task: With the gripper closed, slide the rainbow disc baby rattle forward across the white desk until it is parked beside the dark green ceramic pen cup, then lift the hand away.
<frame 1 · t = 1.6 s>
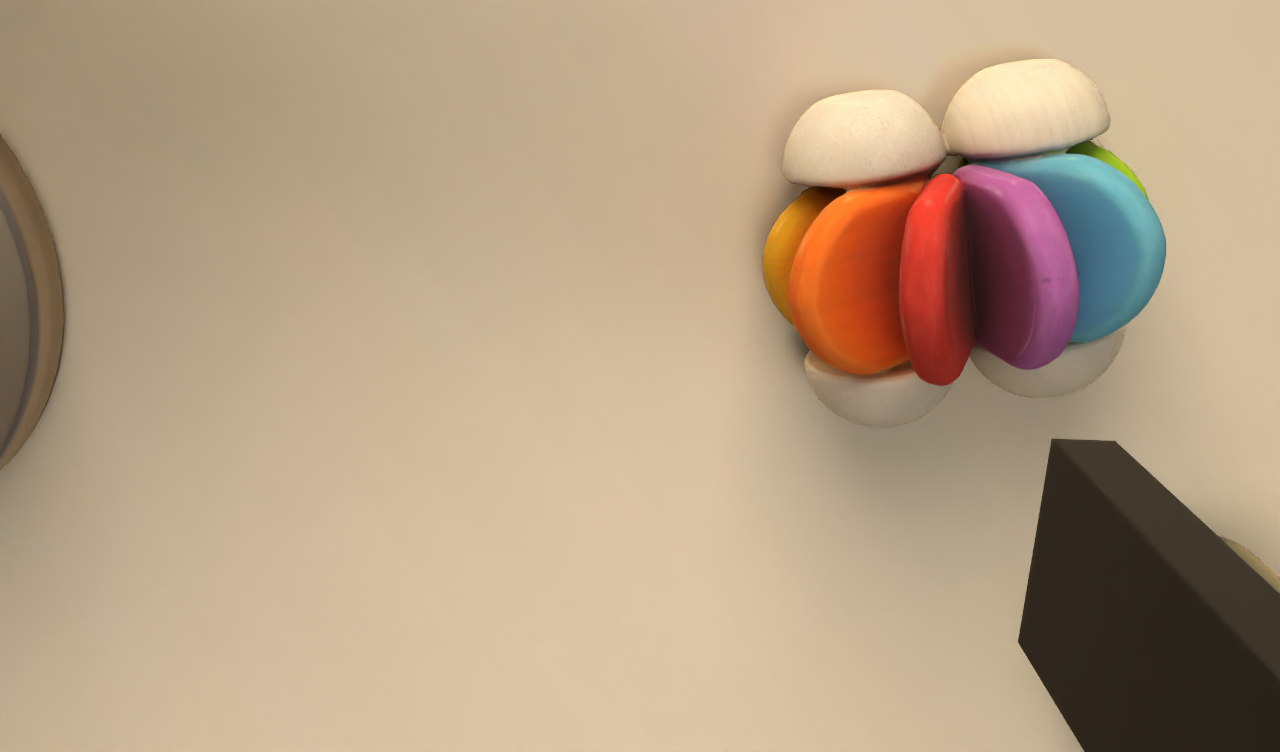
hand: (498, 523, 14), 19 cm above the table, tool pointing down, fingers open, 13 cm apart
rainbow disc baby rattle: (930, 229, 33), on the table
pen cup: (1168, 635, 37), on the table
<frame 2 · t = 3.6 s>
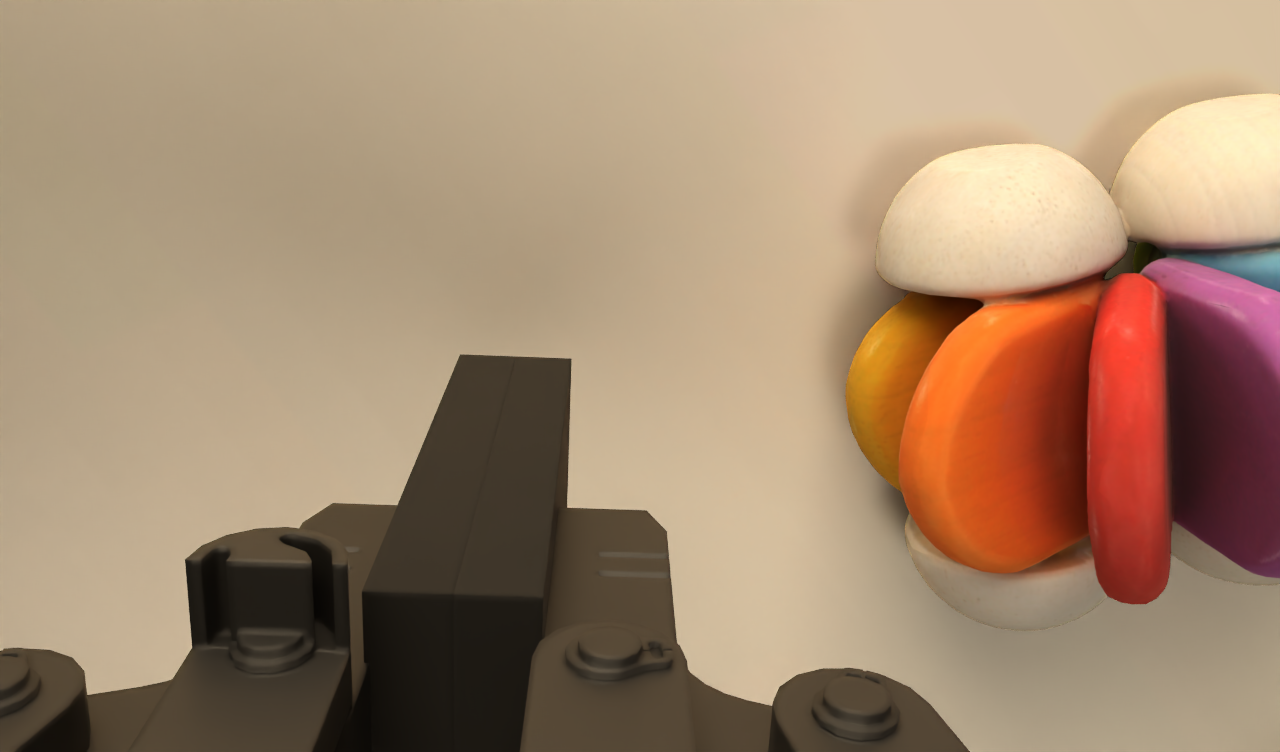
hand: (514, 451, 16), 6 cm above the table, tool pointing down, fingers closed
rainbow disc baby rattle: (1078, 334, 23), on the table
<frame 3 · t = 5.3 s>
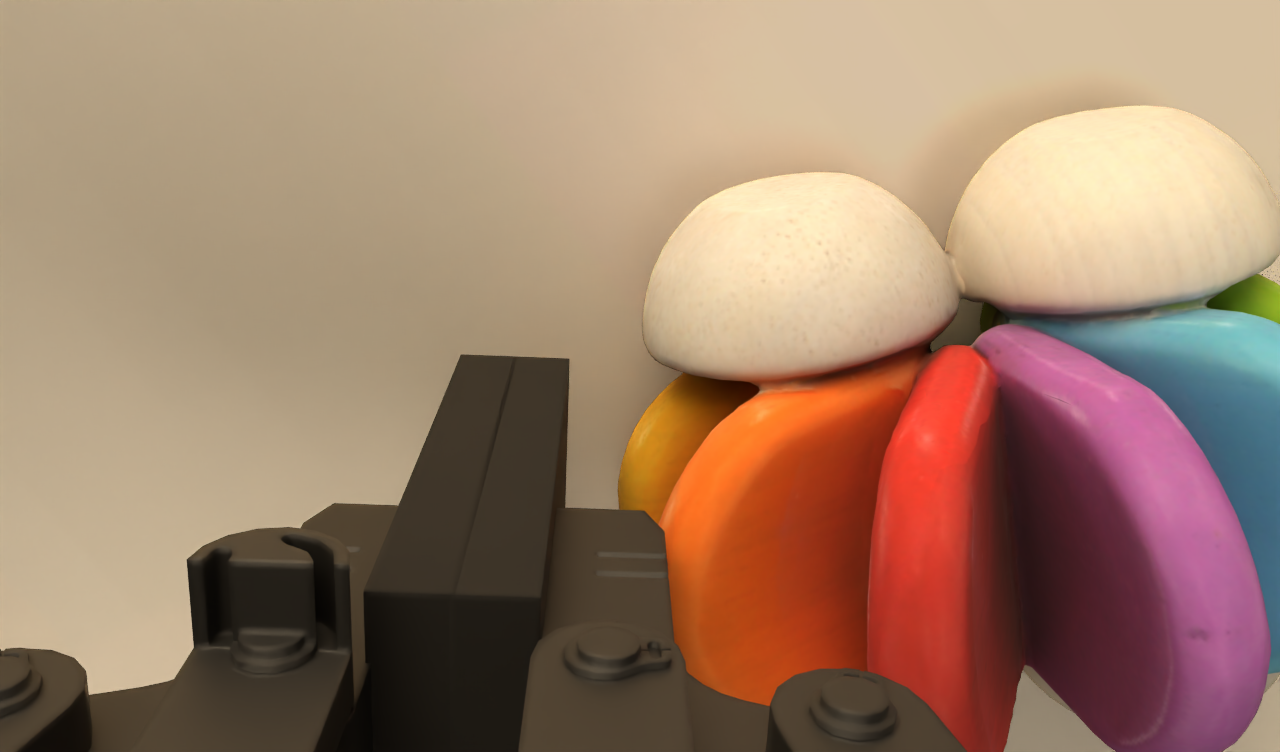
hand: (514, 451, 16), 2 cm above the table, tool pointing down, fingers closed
rainbow disc baby rattle: (930, 405, 18), on the table, touching gripper
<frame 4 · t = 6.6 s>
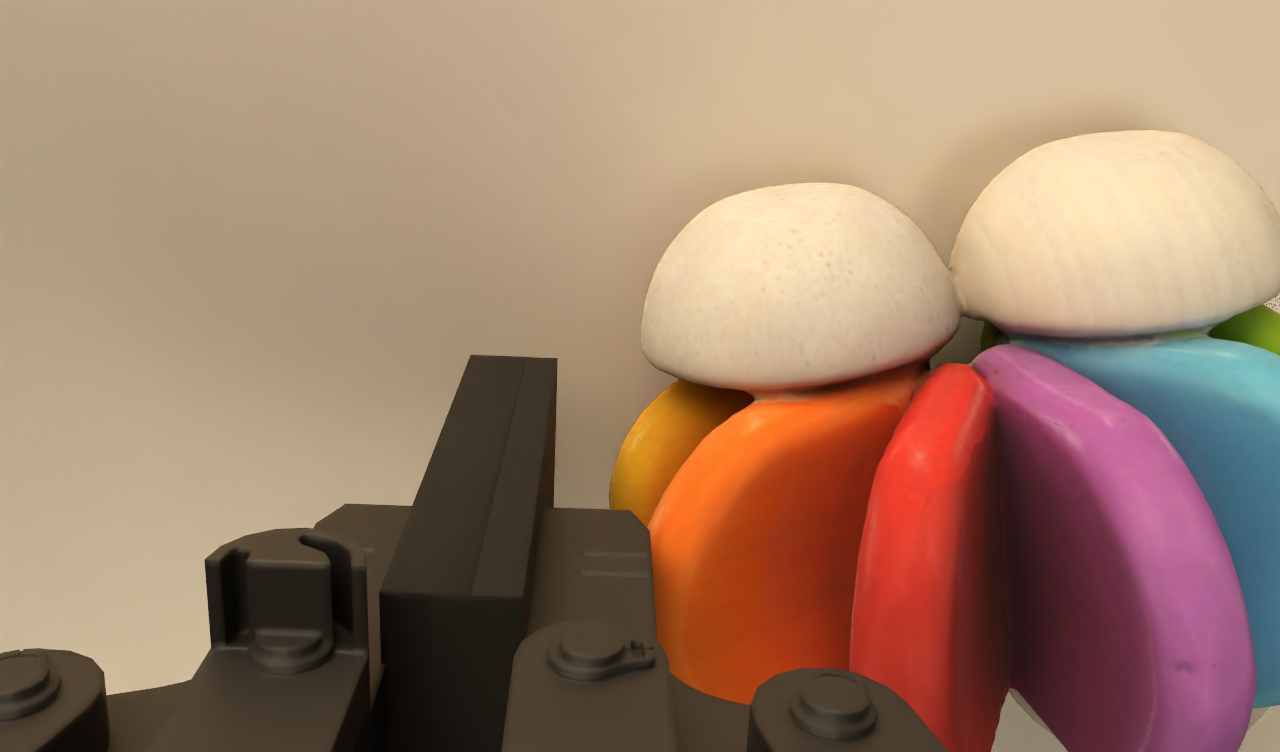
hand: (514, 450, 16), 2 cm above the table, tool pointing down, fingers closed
rainbow disc baby rattle: (928, 421, 18), on the table, touching gripper
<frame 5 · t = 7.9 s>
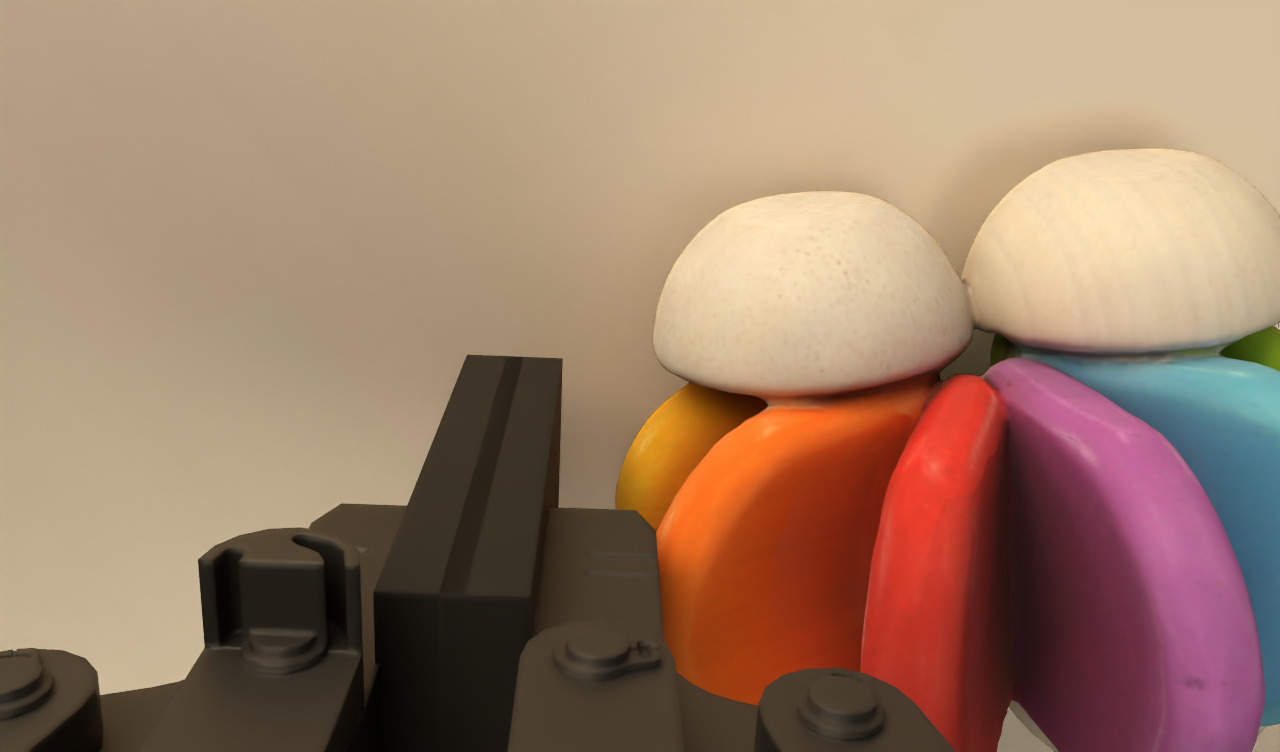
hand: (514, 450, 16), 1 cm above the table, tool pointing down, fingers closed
rainbow disc baby rattle: (933, 433, 18), on the table, touching gripper
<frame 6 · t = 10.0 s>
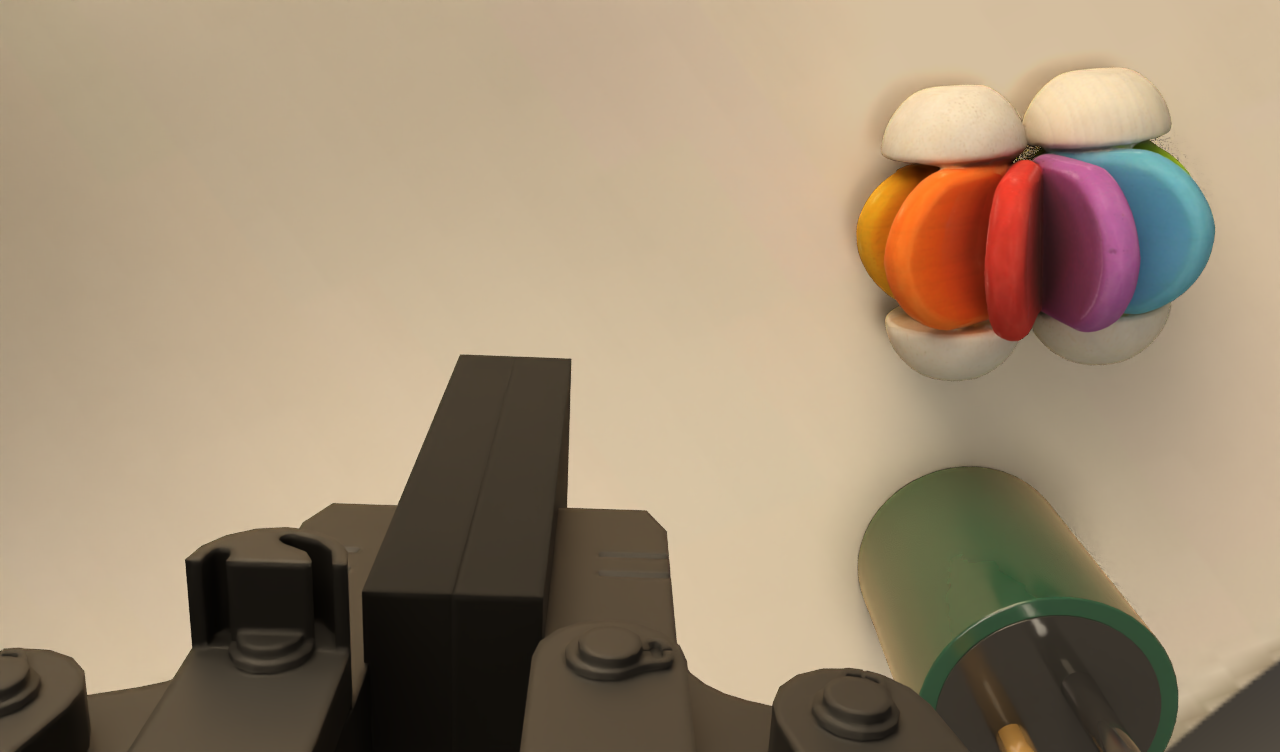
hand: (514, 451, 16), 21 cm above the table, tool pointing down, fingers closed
rainbow disc baby rattle: (1002, 213, 37), on the table
pen cup: (960, 561, 40), on the table
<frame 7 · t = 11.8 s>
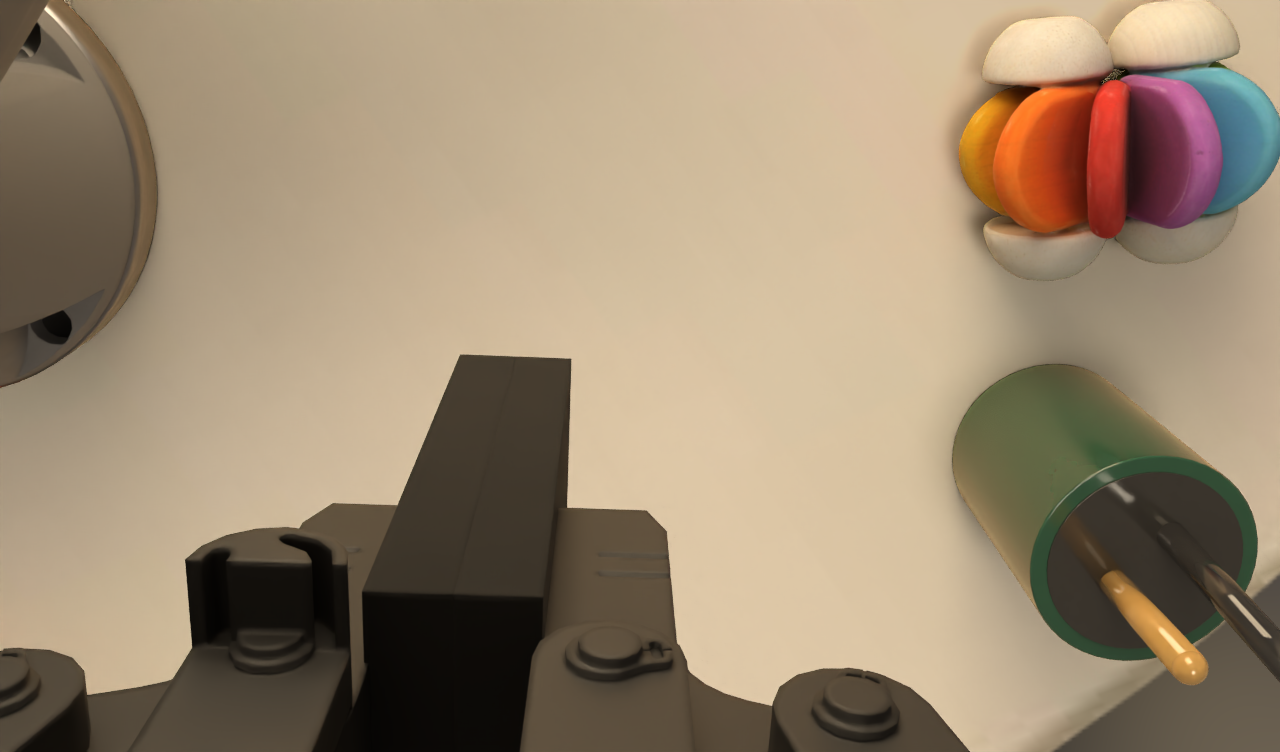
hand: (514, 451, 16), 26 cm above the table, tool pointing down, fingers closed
rainbow disc baby rattle: (1083, 134, 42), on the table
pen cup: (1044, 451, 45), on the table
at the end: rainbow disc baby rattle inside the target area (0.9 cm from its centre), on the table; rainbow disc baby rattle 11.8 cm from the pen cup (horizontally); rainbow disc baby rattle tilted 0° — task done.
